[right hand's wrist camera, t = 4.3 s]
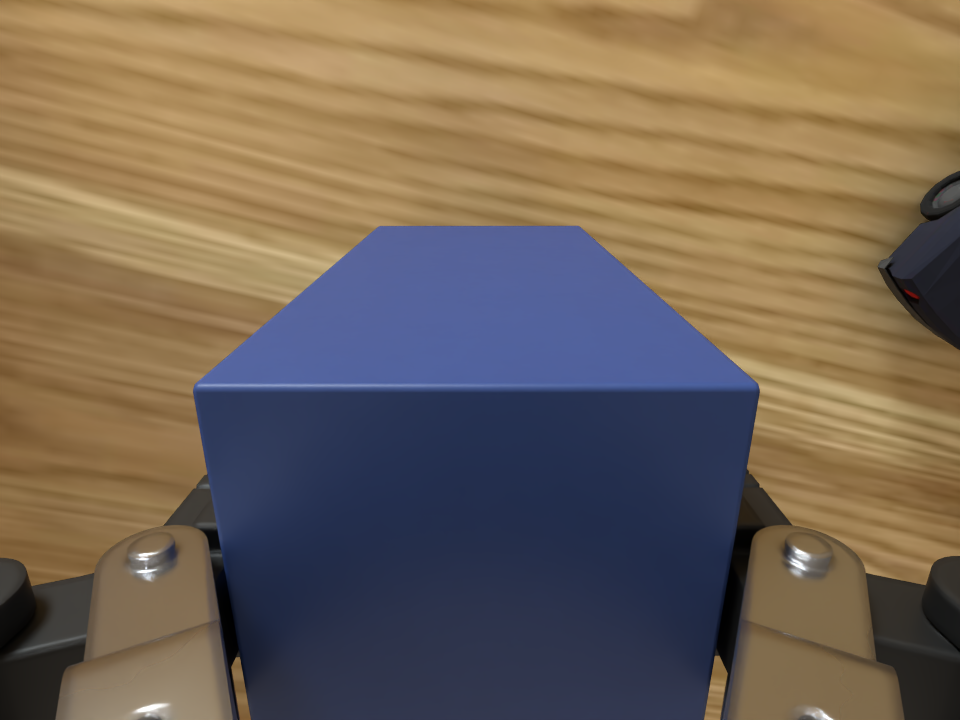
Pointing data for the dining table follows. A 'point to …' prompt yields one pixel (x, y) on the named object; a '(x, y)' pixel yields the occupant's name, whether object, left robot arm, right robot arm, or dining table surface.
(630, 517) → the box
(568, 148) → the dining table surface
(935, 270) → the toy car
